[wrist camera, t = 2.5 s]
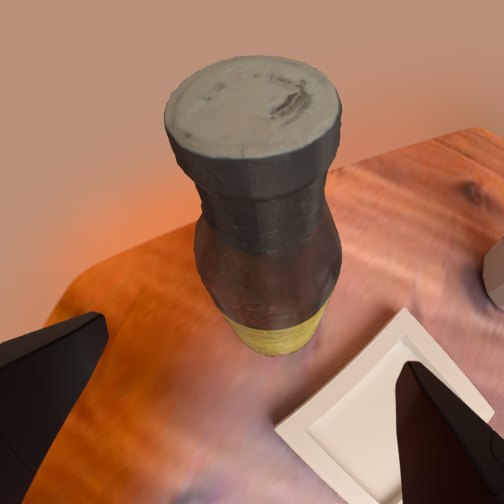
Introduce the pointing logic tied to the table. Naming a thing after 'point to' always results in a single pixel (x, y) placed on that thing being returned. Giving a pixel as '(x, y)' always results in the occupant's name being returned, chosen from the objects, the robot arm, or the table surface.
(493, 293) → the water bottle
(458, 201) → the table surface
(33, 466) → the robot arm
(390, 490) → the holder tray
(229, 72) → the sauce bottle
